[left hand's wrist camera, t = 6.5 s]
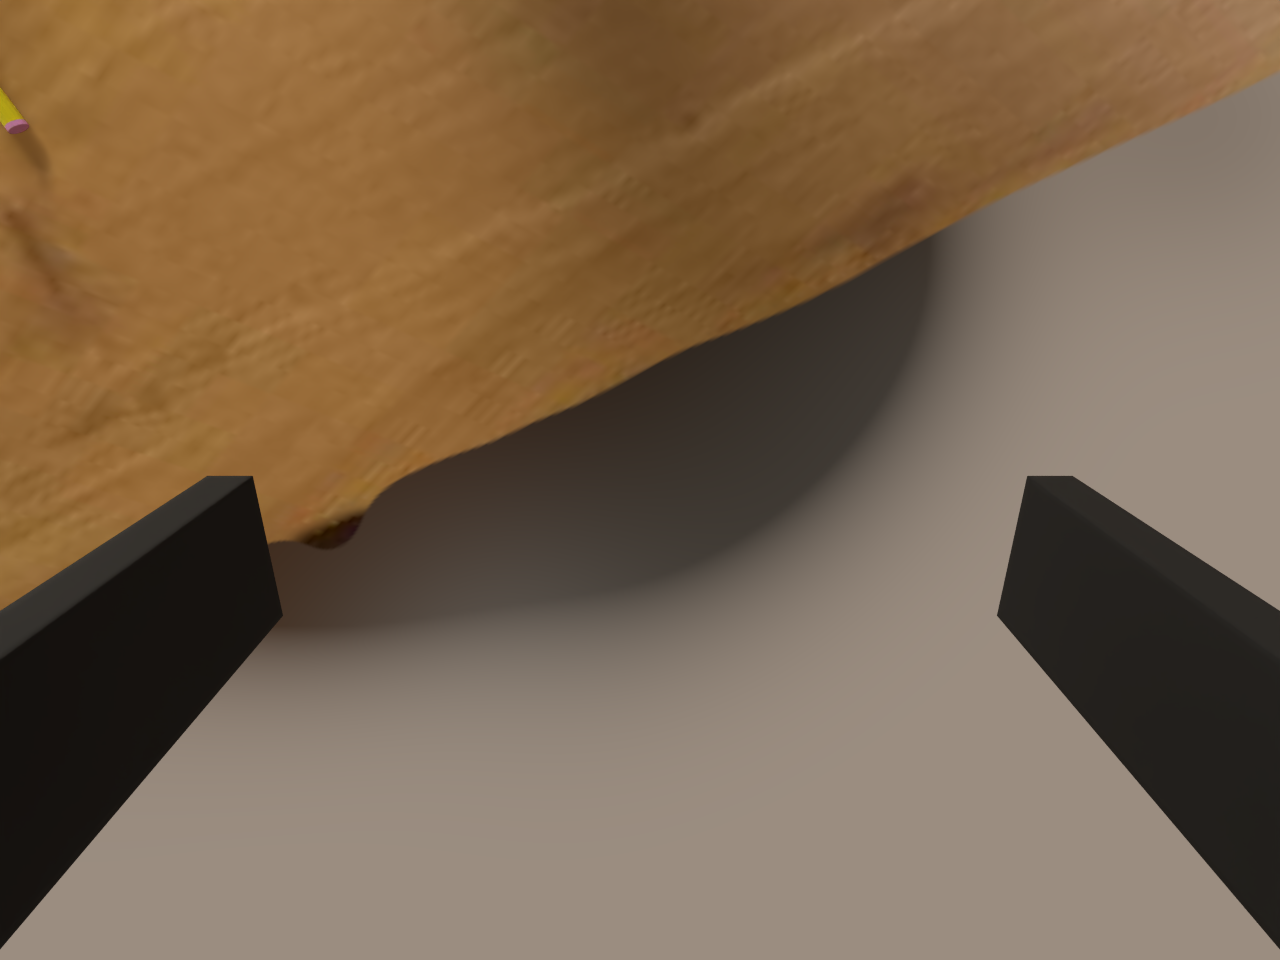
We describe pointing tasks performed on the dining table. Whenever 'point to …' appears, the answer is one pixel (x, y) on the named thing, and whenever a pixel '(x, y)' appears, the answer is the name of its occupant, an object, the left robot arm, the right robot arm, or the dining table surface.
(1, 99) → the pencil
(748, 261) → the dining table surface
